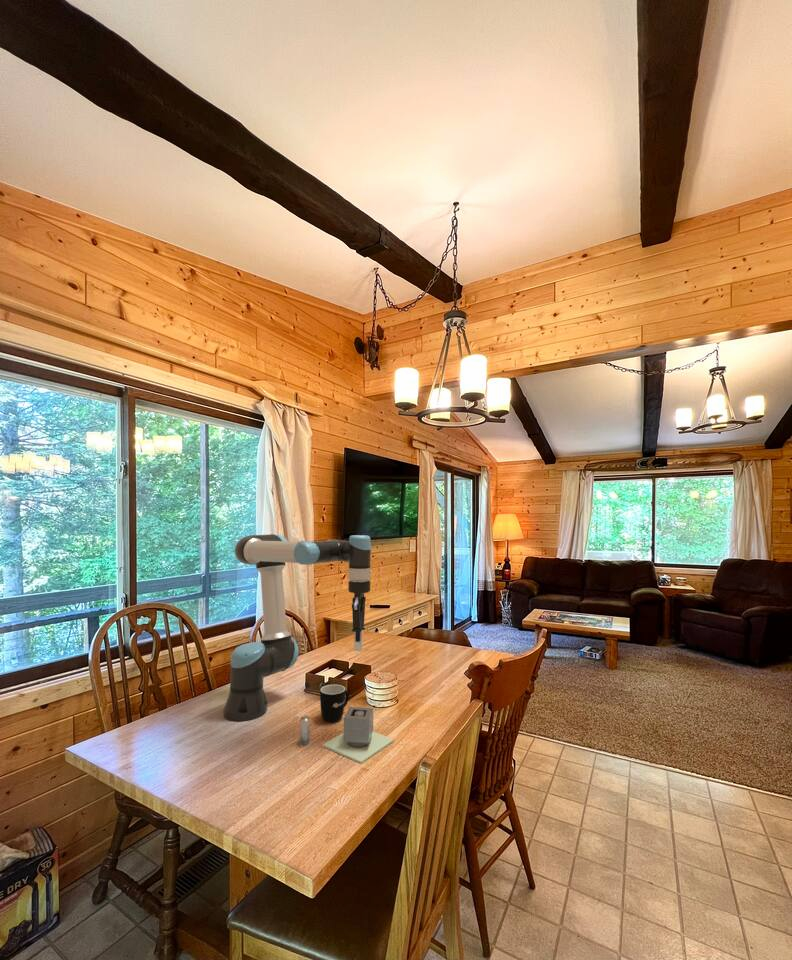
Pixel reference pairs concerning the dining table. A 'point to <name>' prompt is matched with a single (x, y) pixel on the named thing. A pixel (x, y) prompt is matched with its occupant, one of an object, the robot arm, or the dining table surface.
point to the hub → (359, 745)
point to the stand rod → (305, 730)
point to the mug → (333, 702)
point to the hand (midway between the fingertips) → (358, 650)
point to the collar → (358, 725)
